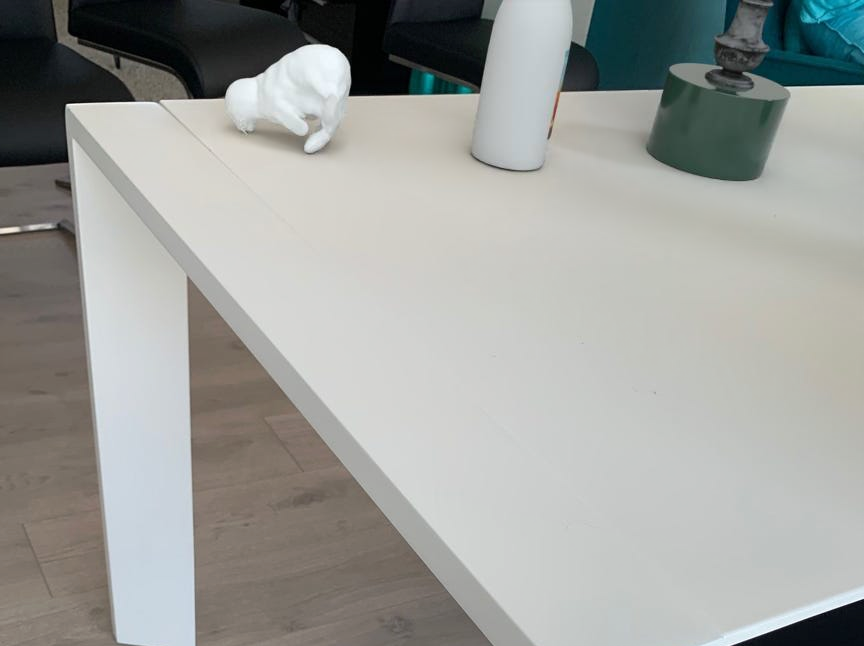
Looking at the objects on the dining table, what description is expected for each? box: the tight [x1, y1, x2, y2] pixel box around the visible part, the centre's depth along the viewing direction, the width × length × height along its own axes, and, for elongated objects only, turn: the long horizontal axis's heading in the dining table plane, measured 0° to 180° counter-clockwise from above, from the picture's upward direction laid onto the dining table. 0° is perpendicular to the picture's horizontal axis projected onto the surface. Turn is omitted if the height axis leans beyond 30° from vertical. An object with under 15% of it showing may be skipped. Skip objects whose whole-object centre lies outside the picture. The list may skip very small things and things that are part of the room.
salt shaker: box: [705, 0, 774, 88], centre depth 104 cm, size 6×6×12 cm
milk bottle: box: [470, 0, 574, 171], centre depth 97 cm, size 8×8×20 cm
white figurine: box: [224, 43, 352, 154], centre depth 96 cm, size 6×8×12 cm
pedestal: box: [646, 62, 791, 181], centre depth 111 cm, size 13×13×8 cm
